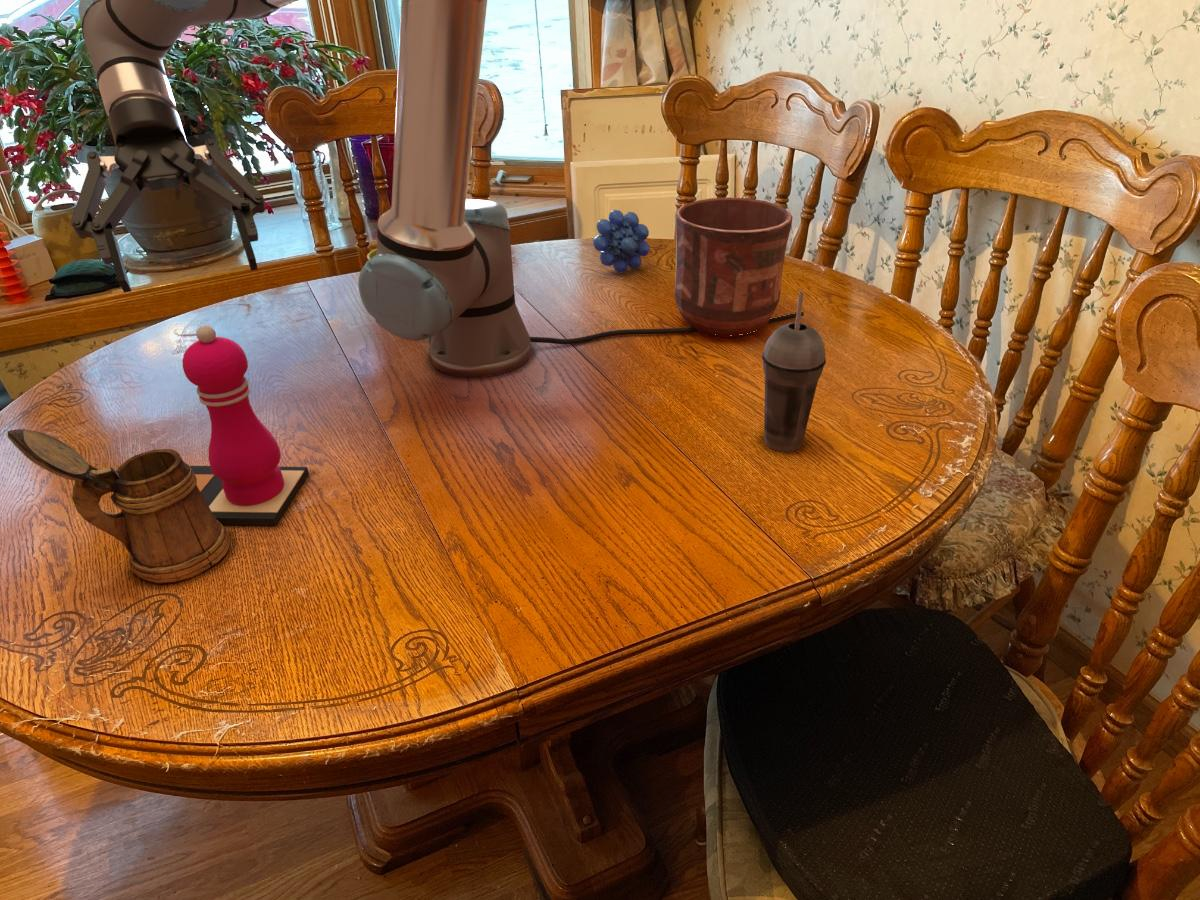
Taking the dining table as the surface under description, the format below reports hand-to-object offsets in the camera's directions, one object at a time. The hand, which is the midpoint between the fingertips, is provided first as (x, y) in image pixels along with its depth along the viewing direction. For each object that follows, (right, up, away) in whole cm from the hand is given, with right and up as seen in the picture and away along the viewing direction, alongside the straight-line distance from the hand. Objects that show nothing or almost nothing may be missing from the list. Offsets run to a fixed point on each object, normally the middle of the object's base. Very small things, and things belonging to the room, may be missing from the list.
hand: (191, 275), depth 89 cm
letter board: (+5, -26, -1) cm, 26 cm away
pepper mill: (+8, -25, -1) cm, 26 cm away
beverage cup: (+70, -19, +7) cm, 73 cm away
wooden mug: (+2, -32, -10) cm, 33 cm away
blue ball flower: (+52, +13, +58) cm, 78 cm away
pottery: (+67, 0, +37) cm, 77 cm away
